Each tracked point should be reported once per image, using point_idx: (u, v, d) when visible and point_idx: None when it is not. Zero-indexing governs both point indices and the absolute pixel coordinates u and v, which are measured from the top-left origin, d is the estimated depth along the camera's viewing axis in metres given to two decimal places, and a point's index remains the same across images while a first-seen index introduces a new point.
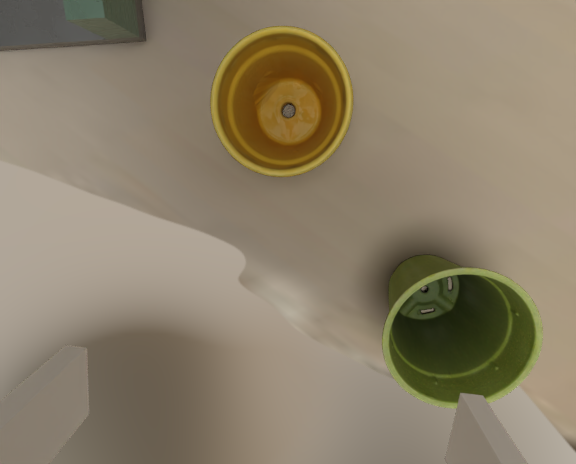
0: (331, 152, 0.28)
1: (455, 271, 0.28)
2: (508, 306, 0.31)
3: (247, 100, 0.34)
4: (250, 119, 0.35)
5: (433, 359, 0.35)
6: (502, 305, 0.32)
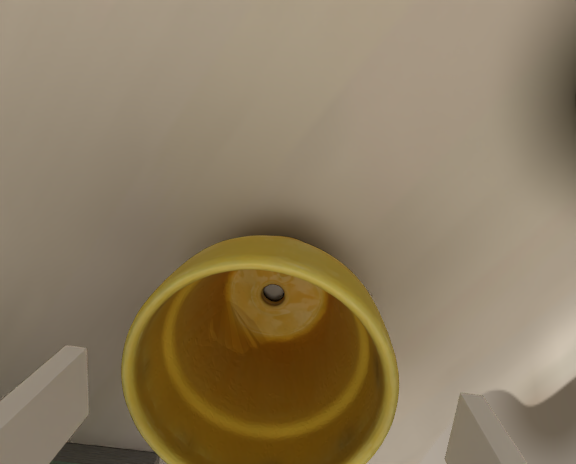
0: (367, 314, 0.13)
1: None
2: None
3: (248, 370, 0.21)
4: (278, 365, 0.22)
5: None
6: None
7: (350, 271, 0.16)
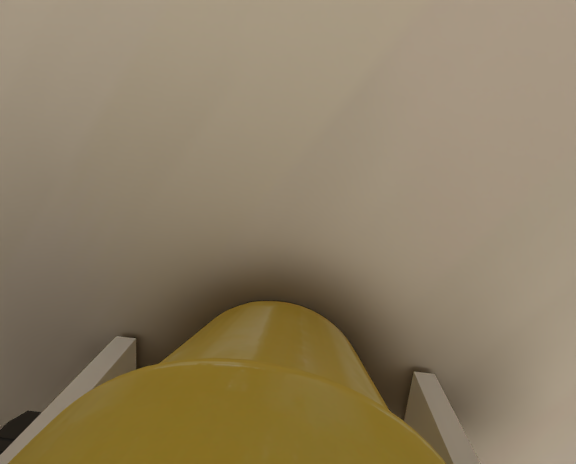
0: None
1: None
2: None
3: None
4: None
5: None
6: None
7: (423, 445, 0.07)
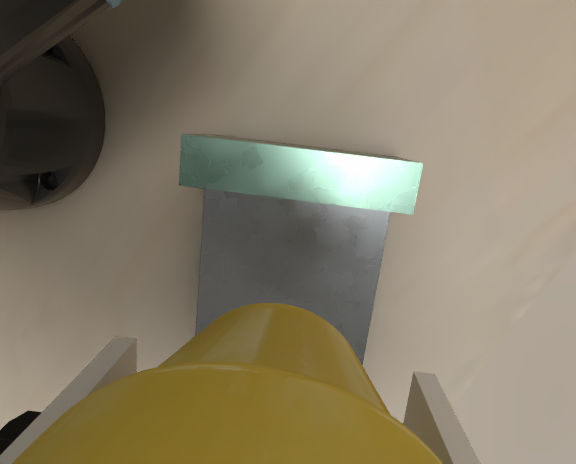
0: None
1: None
2: None
3: None
4: None
5: None
6: None
7: (423, 449, 0.07)
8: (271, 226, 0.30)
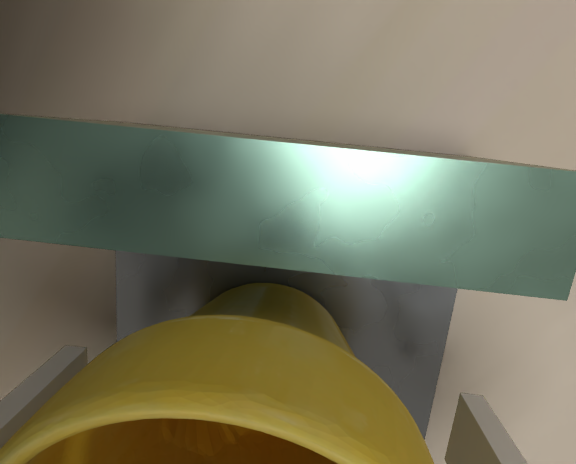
0: None
1: None
2: None
3: None
4: None
5: None
6: None
7: (382, 383, 0.09)
8: None
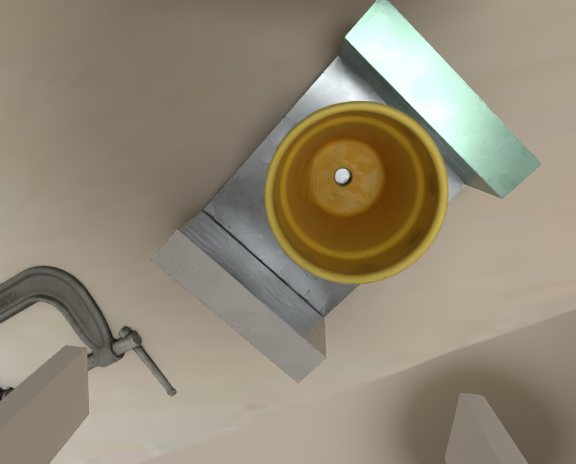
0: (447, 197, 0.21)
1: None
2: None
3: (304, 207, 0.28)
4: (320, 219, 0.29)
5: None
6: None
7: None
8: None
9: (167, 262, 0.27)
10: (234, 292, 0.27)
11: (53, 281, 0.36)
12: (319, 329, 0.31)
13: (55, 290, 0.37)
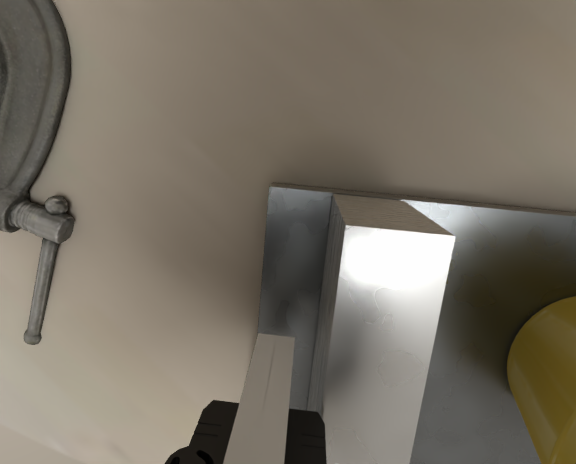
0: None
1: None
2: None
3: None
4: None
5: None
6: None
7: None
8: None
9: (362, 261, 0.11)
10: (393, 415, 0.12)
11: (29, 20, 0.17)
12: None
13: (16, 36, 0.17)
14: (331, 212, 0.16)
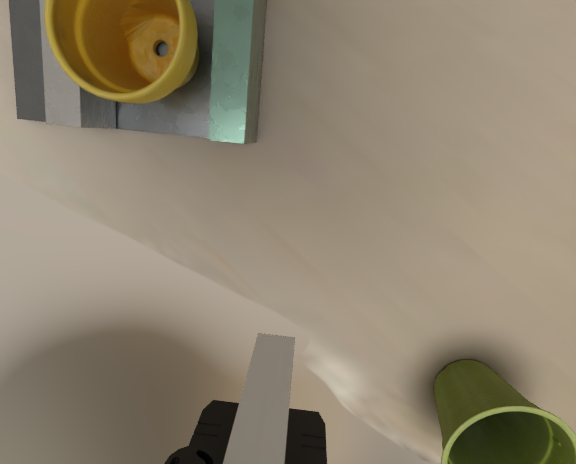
0: (161, 81, 0.28)
1: (517, 408, 0.33)
2: (551, 433, 0.36)
3: (110, 26, 0.33)
4: (115, 48, 0.34)
5: (473, 462, 0.40)
6: (544, 430, 0.37)
7: (180, 82, 0.31)
8: None
9: None
10: None
11: None
12: (101, 121, 0.36)
13: None
14: None
